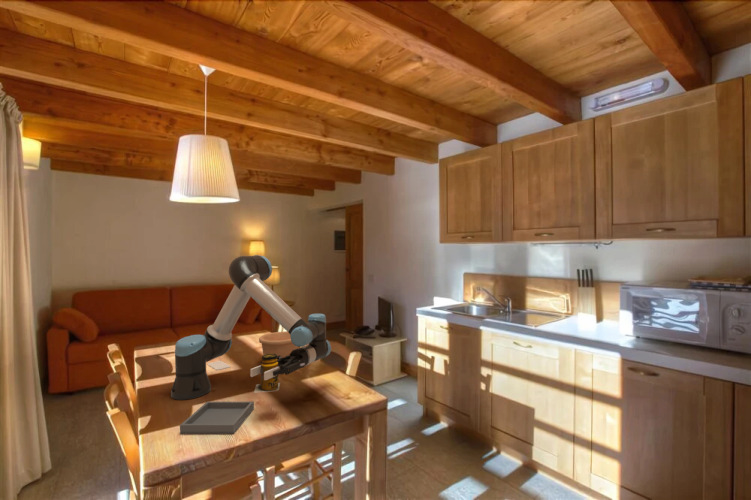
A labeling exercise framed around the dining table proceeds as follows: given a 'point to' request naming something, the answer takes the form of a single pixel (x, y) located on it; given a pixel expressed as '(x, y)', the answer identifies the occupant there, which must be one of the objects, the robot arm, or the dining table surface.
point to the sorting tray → (217, 418)
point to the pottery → (277, 344)
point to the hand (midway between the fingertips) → (258, 374)
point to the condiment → (271, 384)
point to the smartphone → (218, 365)
